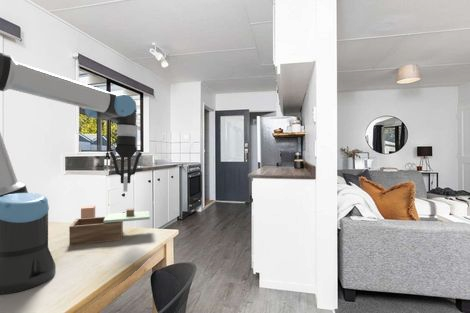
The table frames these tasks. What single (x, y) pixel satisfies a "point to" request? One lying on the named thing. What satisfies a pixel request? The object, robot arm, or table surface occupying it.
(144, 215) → the lid
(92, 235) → the wooden box
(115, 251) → the table surface
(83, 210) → the key block
